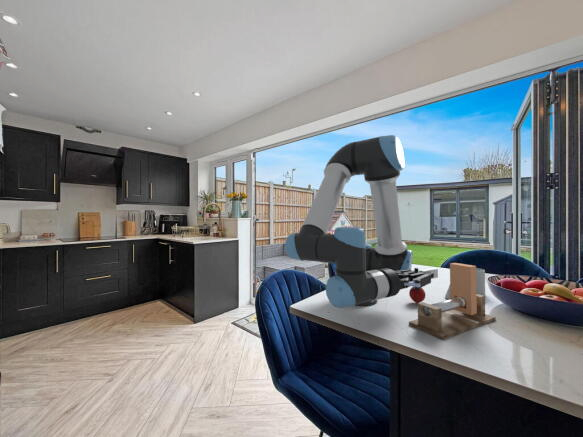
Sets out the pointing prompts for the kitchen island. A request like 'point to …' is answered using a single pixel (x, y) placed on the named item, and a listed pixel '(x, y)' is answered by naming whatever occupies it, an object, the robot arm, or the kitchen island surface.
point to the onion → (417, 295)
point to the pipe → (447, 305)
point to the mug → (480, 281)
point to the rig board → (450, 320)
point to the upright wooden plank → (464, 286)
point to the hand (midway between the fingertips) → (435, 272)
